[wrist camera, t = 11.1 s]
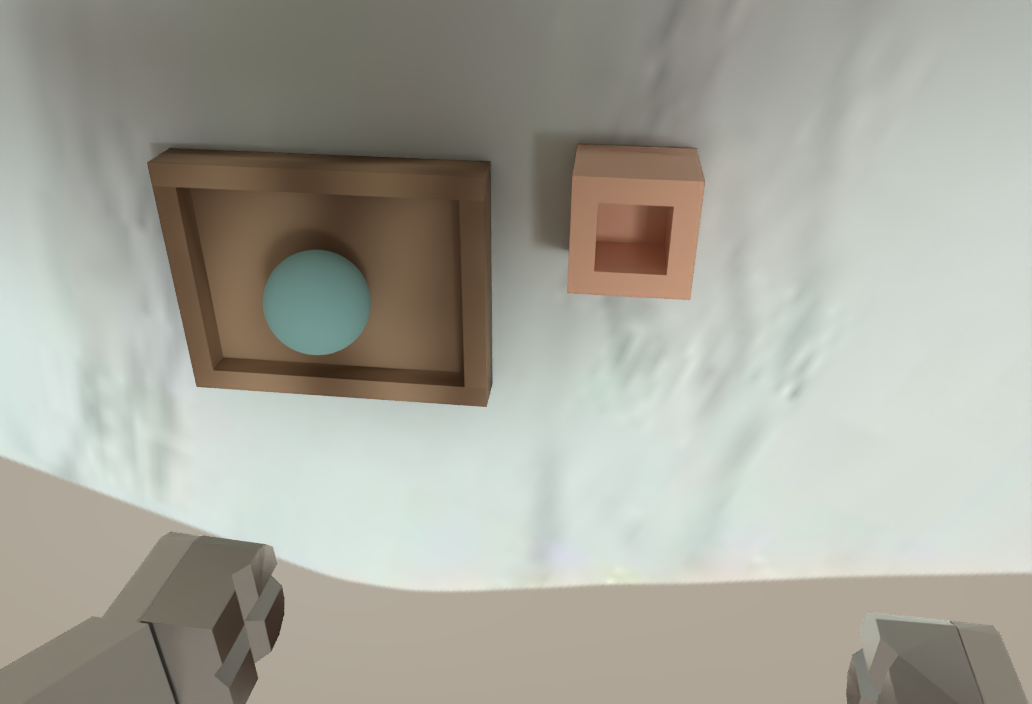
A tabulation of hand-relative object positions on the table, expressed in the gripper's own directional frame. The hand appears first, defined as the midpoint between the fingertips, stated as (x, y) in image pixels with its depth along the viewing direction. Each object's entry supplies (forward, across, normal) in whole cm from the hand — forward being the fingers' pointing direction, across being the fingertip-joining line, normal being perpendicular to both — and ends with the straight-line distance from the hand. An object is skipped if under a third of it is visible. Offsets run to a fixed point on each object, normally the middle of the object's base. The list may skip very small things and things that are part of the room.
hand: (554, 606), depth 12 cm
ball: (+24, +13, +8) cm, 29 cm away
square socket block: (+26, 0, +4) cm, 26 cm away
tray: (+25, +13, +8) cm, 29 cm away
